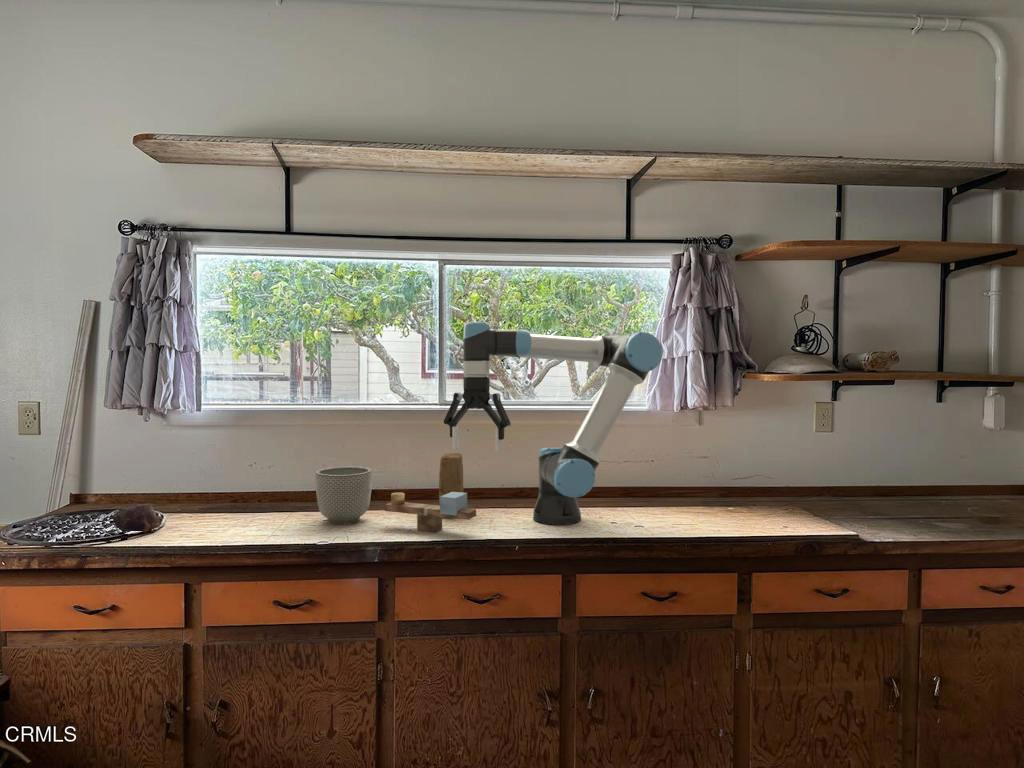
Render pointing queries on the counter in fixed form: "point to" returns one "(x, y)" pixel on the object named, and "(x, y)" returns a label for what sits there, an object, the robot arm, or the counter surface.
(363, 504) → the planter
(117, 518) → the rock
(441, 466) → the block
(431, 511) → the beam
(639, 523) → the counter surface
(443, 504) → the rider
